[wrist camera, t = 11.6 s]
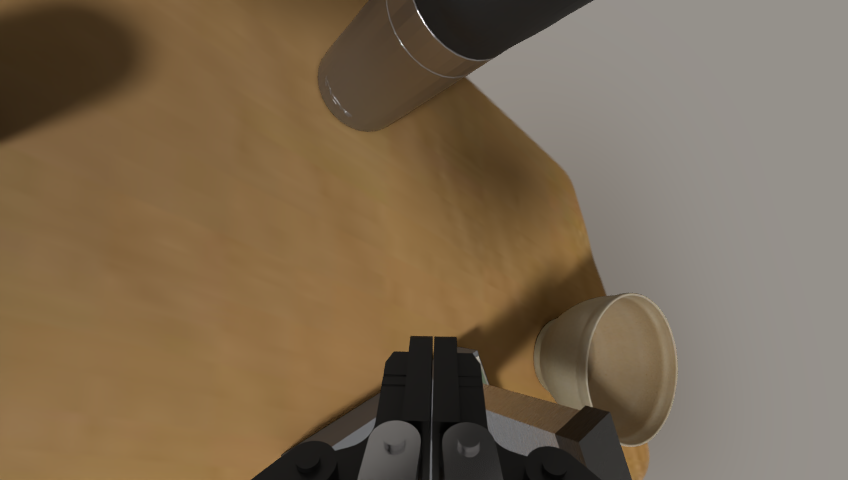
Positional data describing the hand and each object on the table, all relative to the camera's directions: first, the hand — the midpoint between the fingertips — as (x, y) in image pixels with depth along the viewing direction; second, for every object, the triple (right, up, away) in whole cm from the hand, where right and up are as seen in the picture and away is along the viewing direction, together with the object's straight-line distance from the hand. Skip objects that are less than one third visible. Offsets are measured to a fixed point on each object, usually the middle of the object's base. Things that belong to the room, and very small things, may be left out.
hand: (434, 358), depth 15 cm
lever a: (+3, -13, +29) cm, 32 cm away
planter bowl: (+17, -11, +43) cm, 48 cm away
